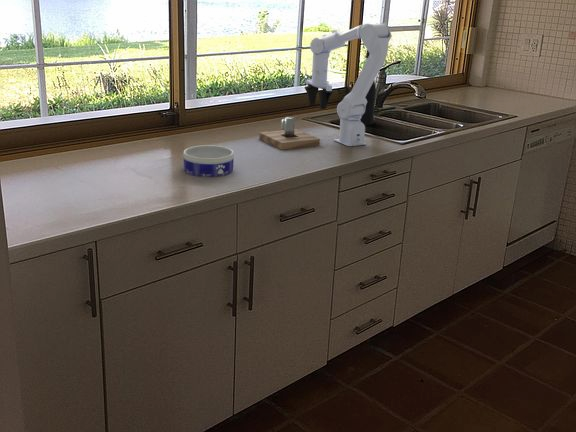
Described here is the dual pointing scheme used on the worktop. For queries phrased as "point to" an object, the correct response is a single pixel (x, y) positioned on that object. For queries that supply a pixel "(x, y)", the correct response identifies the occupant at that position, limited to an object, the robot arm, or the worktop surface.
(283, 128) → the short pin
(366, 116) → the wine bottle
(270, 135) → the hole plate
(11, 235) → the worktop surface
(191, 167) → the dog bowl
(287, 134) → the long pin
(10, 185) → the worktop surface
